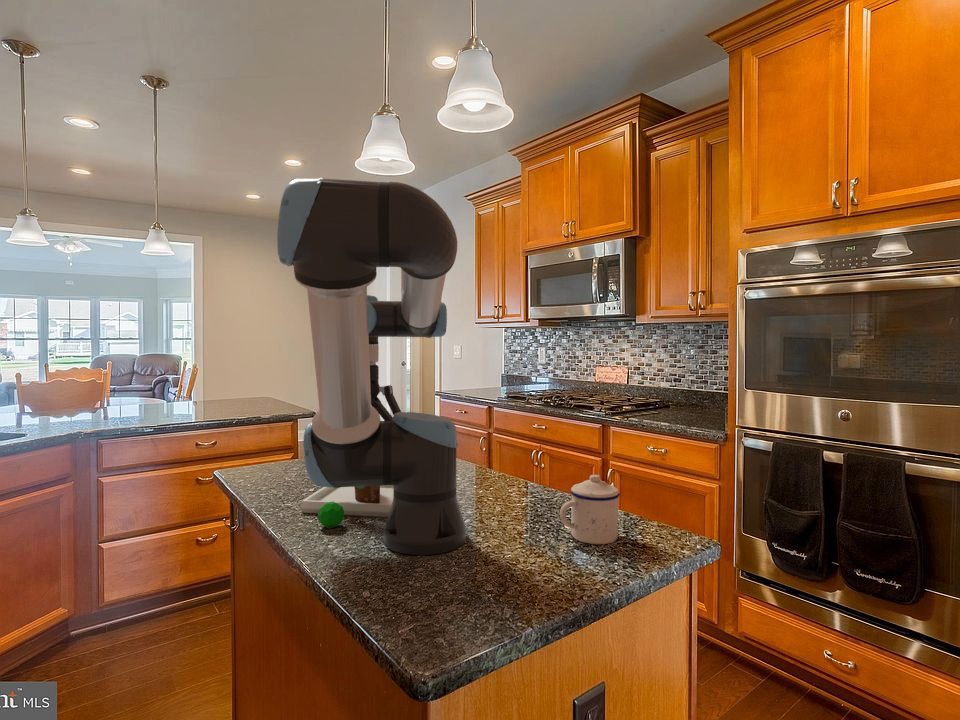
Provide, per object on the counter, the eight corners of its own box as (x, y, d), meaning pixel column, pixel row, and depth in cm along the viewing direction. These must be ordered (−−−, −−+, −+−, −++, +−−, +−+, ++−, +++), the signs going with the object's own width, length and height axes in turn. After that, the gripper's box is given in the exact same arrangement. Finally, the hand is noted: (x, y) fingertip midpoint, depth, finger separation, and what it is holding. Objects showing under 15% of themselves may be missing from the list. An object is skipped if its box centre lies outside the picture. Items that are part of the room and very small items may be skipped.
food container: (348, 492, 127) (348, 450, 127) (374, 490, 129) (374, 448, 128) (351, 507, 115) (351, 461, 115) (380, 505, 117) (380, 459, 116)
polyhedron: (341, 531, 104) (341, 506, 104) (315, 531, 104) (315, 506, 104) (346, 522, 109) (346, 499, 109) (321, 522, 109) (321, 499, 109)
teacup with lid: (599, 525, 108) (600, 468, 108) (629, 541, 100) (630, 479, 99) (547, 534, 103) (548, 473, 103) (574, 551, 95) (575, 485, 94)
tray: (390, 517, 112) (390, 505, 112) (301, 512, 115) (301, 500, 115) (414, 491, 131) (414, 481, 131) (338, 487, 134) (338, 477, 134)
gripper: (419, 363, 124) (419, 455, 124) (317, 363, 127) (317, 452, 128) (410, 364, 117) (410, 462, 117) (302, 363, 120) (302, 458, 120)
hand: (361, 457), depth 122 cm, fingers open, 13 cm apart
